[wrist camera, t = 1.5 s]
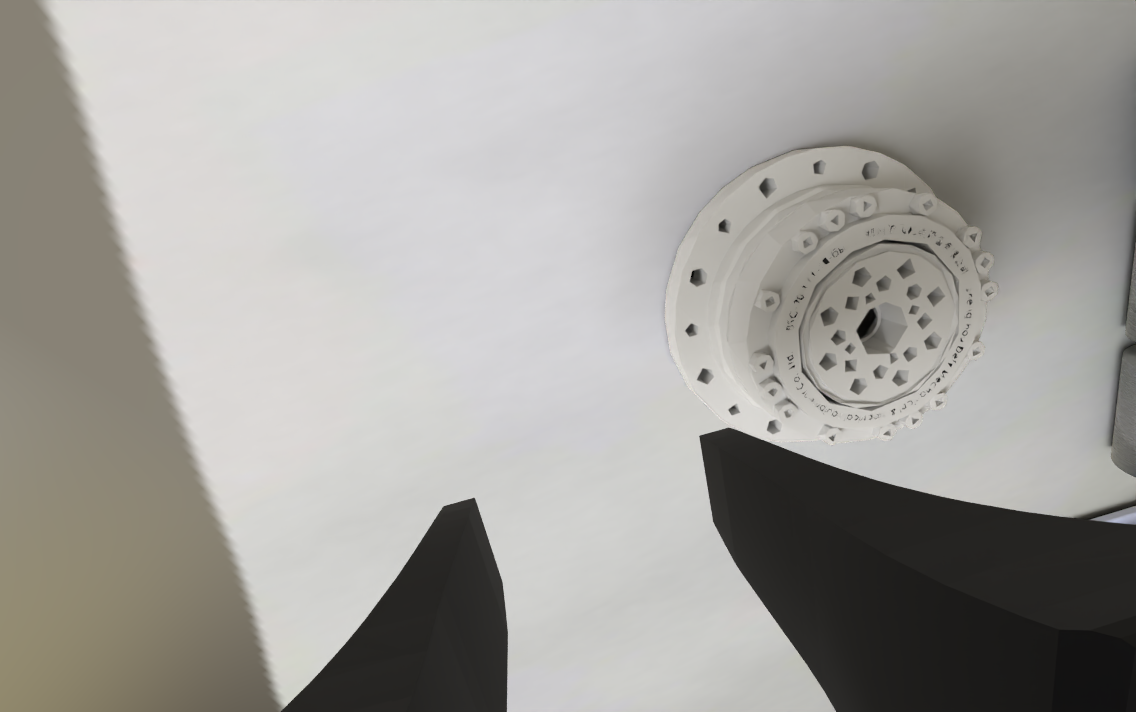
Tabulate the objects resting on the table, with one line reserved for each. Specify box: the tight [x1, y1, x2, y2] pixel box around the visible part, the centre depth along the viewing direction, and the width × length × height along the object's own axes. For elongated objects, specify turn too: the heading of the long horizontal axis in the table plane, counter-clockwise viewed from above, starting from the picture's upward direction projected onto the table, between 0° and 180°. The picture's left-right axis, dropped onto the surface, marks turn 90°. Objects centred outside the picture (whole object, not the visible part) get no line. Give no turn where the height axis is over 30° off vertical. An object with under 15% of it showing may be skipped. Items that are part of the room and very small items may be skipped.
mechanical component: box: [664, 146, 998, 446], centre depth 17 cm, size 10×4×10 cm
